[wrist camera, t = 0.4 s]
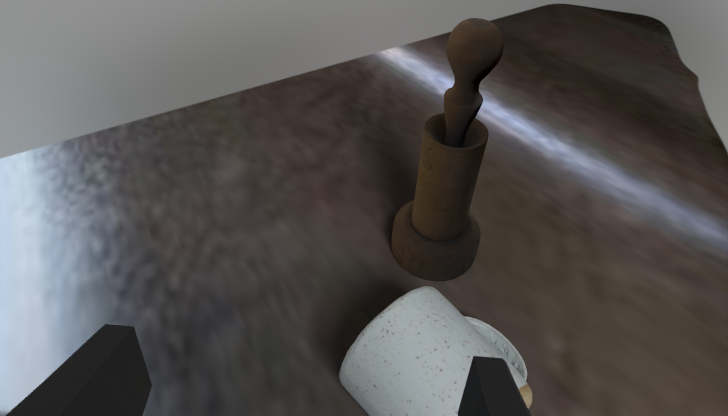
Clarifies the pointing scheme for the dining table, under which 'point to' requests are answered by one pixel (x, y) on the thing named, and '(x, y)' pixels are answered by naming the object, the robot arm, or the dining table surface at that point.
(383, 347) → the ceramic mug
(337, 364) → the dining table surface
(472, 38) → the mortar and pestle
